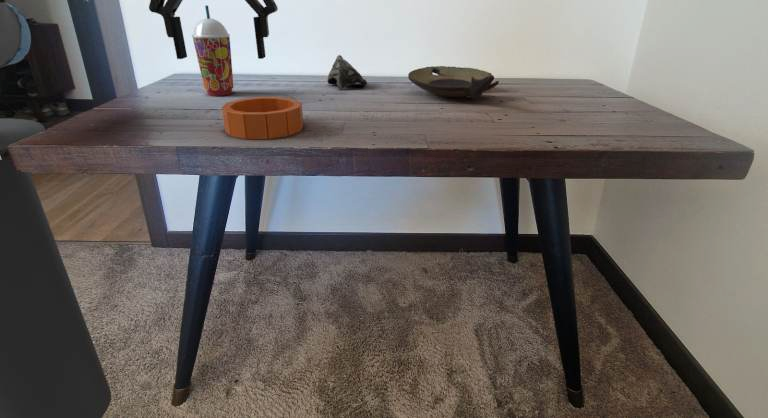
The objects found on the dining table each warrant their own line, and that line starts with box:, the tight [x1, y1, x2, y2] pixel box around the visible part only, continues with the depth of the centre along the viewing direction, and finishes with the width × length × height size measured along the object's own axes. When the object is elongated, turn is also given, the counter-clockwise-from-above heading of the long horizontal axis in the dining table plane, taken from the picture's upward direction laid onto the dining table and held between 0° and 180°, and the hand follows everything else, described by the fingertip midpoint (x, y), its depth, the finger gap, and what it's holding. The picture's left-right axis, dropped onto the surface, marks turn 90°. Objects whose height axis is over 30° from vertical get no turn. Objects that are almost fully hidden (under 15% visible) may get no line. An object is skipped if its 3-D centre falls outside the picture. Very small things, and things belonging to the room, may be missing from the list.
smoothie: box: [191, 5, 234, 97], centre depth 105 cm, size 8×8×20 cm
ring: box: [221, 96, 304, 140], centre depth 81 cm, size 14×14×4 cm
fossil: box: [326, 54, 368, 90], centre depth 118 cm, size 11×9×10 cm
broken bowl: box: [407, 65, 500, 99], centre depth 108 cm, size 22×30×8 cm
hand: (222, 58), depth 76 cm, fingers open, 13 cm apart
